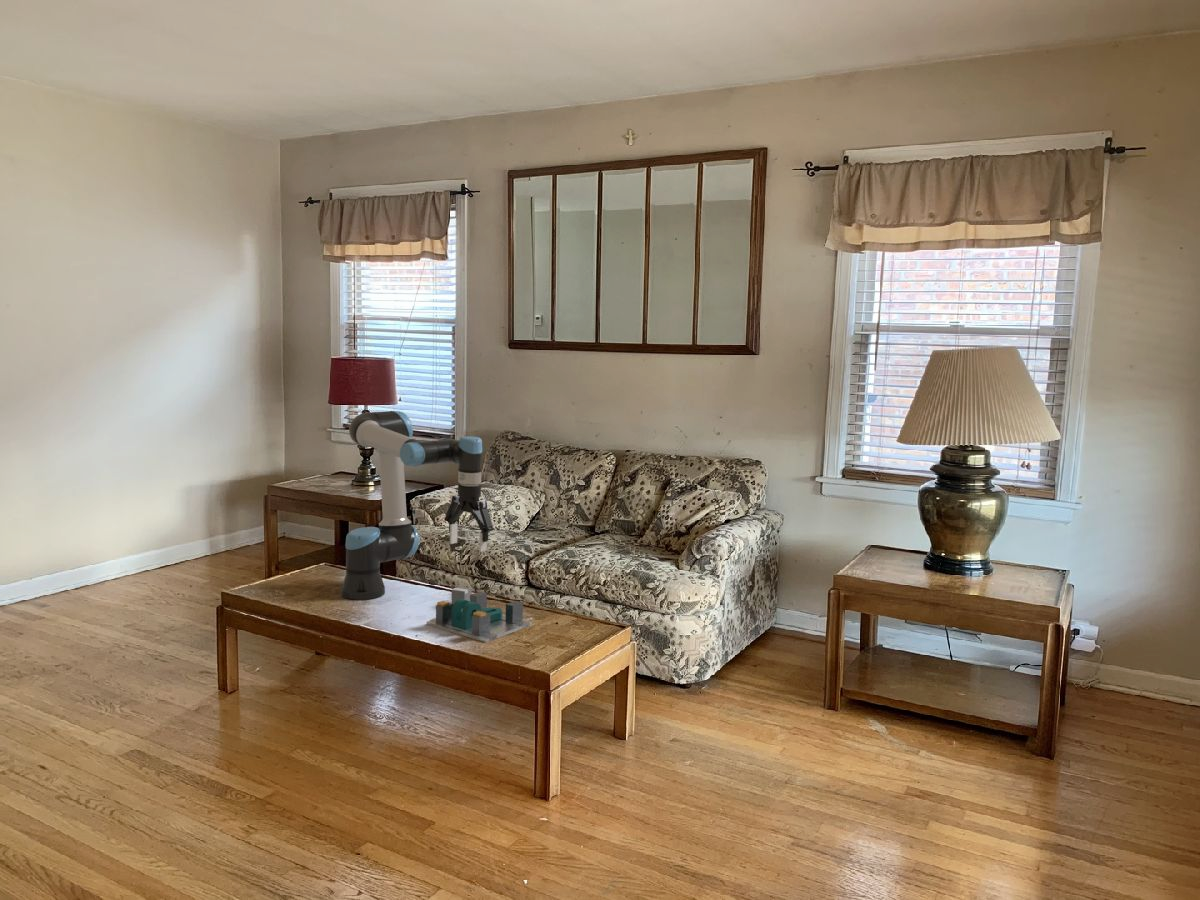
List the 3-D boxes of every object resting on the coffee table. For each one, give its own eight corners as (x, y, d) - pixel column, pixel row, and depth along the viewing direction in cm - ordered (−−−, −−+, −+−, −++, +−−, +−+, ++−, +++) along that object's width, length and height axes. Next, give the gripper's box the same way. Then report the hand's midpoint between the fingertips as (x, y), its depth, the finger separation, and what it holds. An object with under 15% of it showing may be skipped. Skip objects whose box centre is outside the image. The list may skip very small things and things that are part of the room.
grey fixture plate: (426, 624, 295) (426, 601, 294) (474, 609, 313) (474, 586, 312) (485, 642, 280) (485, 617, 279) (532, 624, 298) (532, 601, 297)
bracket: (465, 630, 287) (466, 605, 286) (451, 625, 292) (451, 601, 291) (506, 617, 301) (506, 594, 300) (492, 612, 305) (492, 589, 304)
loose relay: (451, 606, 315) (451, 589, 314) (458, 602, 320) (458, 585, 319) (464, 608, 313) (464, 591, 312) (471, 604, 318) (471, 587, 317)
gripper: (434, 479, 304) (433, 541, 307) (489, 491, 289) (487, 556, 292) (451, 477, 310) (449, 538, 313) (505, 488, 295) (503, 552, 298)
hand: (467, 547), depth 303 cm, fingers open, 13 cm apart
